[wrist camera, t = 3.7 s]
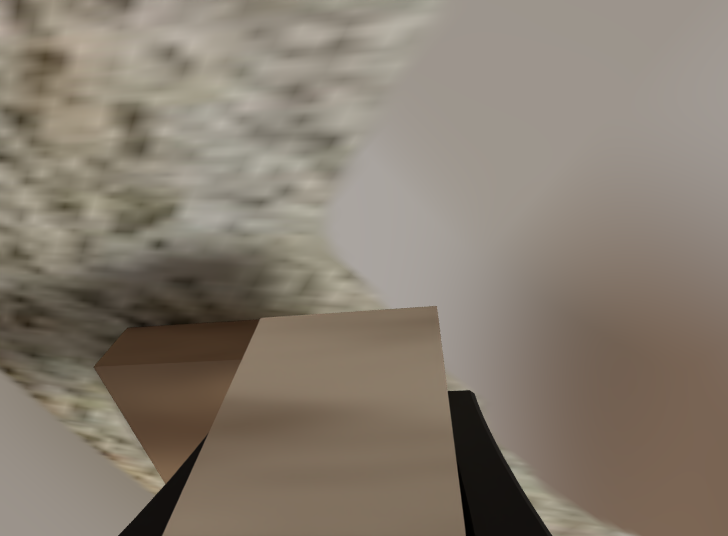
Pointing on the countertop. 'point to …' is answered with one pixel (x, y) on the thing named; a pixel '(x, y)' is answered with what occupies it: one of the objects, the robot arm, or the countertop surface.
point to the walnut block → (173, 383)
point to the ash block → (331, 434)
